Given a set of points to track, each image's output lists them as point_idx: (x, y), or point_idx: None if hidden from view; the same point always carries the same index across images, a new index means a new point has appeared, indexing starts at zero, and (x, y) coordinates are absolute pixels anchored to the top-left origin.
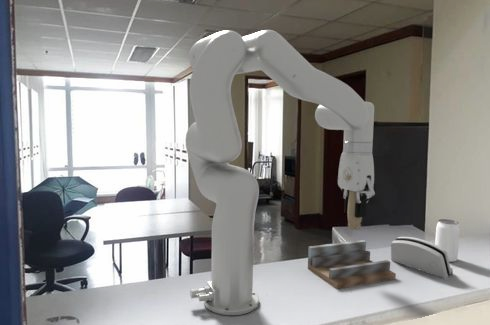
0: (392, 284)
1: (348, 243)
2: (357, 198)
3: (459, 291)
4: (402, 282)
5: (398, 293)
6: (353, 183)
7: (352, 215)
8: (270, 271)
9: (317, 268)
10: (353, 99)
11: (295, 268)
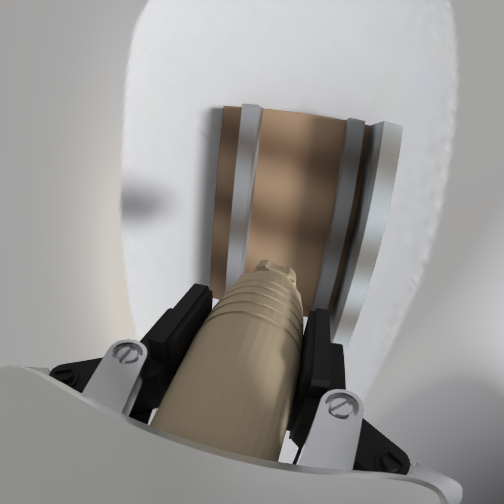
0: (193, 258)
1: (350, 291)
2: (129, 371)
3: (136, 333)
4: None
5: (156, 230)
6: (9, 452)
7: (232, 291)
8: (404, 31)
9: (338, 125)
10: None
11: (398, 100)
